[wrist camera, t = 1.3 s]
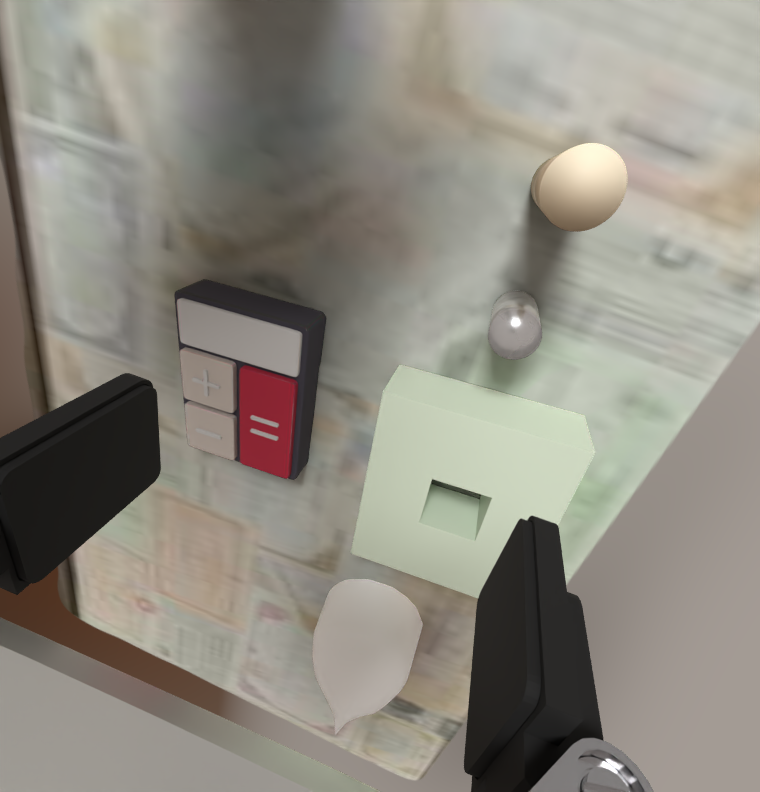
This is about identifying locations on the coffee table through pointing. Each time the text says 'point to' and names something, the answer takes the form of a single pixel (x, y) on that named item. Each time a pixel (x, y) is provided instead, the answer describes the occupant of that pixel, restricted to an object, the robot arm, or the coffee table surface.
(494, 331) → the short pin
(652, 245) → the coffee table surface
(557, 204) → the long pin
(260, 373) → the calculator
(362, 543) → the peg block
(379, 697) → the teardrop
